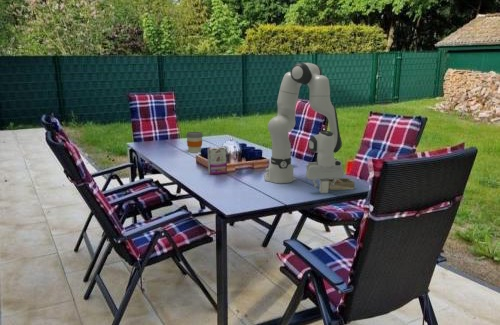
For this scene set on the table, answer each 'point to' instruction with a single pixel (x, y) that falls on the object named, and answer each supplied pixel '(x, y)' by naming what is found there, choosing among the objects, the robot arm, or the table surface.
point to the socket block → (341, 184)
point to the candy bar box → (217, 160)
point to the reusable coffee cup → (194, 141)
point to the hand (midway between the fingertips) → (324, 186)
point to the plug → (324, 185)
